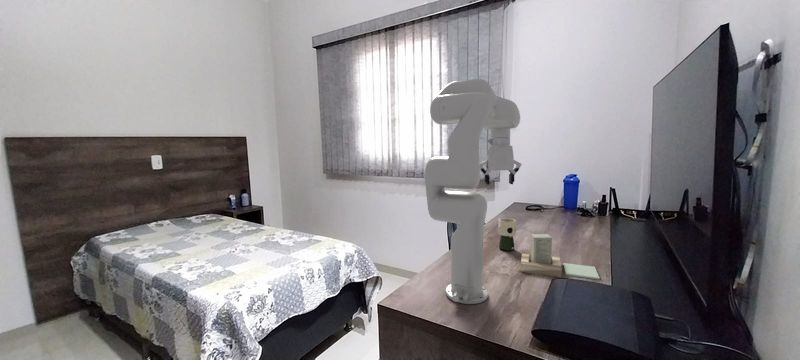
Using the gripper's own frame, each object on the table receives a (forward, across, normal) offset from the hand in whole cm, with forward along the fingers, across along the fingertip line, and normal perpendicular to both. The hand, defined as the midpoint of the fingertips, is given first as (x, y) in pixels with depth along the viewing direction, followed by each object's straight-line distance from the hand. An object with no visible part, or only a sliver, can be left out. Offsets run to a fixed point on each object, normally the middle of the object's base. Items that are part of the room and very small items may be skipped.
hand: (499, 184), depth 128 cm
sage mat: (+29, +23, -21) cm, 42 cm away
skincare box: (+29, +10, -17) cm, 35 cm away
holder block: (+29, +10, -17) cm, 35 cm away
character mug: (+29, +5, +3) cm, 29 cm away
